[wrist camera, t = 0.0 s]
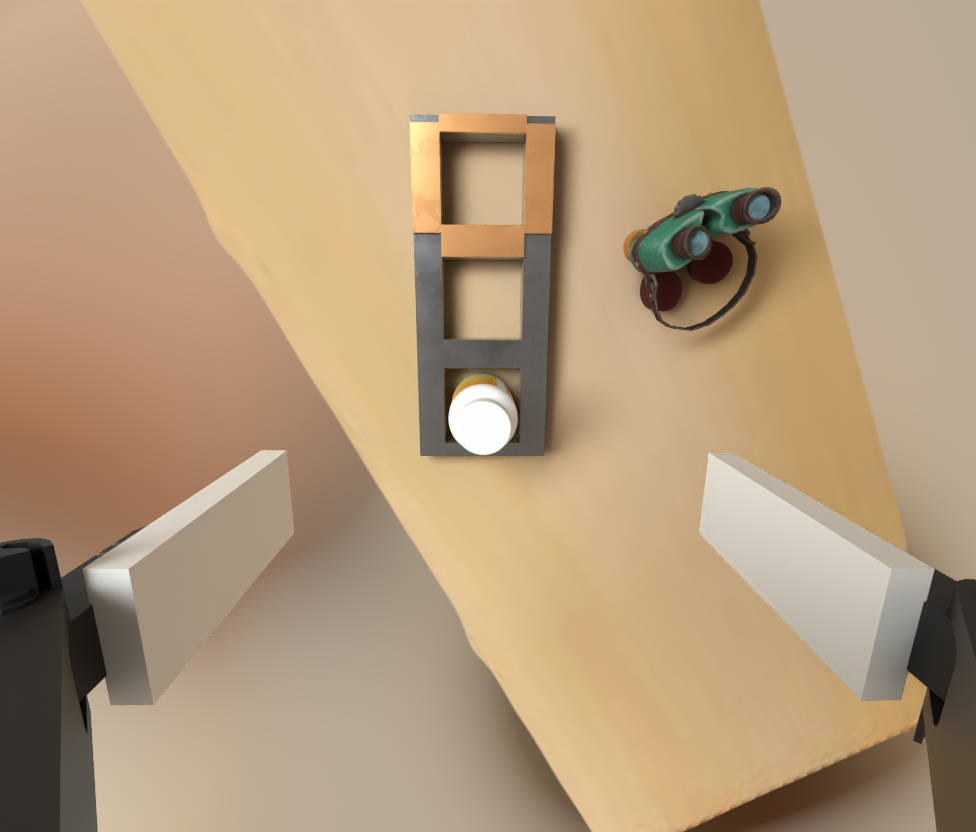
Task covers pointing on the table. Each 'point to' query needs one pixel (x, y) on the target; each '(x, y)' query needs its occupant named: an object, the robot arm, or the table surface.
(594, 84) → the table surface
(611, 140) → the table surface
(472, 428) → the supplement bottle
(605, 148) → the table surface
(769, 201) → the binoculars
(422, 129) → the hole rail
